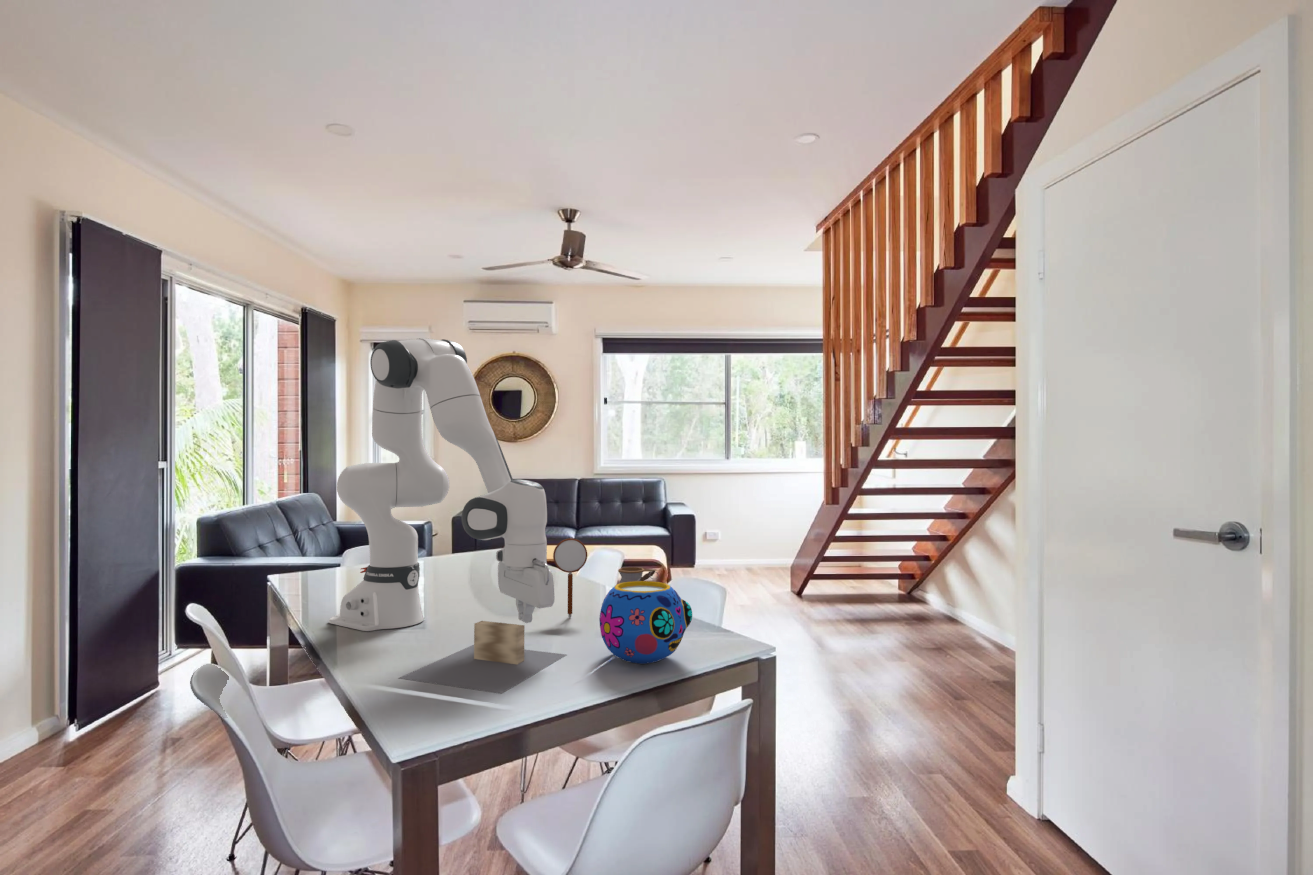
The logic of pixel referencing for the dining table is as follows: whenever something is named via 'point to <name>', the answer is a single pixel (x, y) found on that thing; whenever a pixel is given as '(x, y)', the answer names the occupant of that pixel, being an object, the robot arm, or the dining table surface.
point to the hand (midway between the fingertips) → (525, 621)
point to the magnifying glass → (570, 562)
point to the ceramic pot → (643, 621)
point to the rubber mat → (482, 671)
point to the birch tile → (499, 642)
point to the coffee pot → (634, 574)
